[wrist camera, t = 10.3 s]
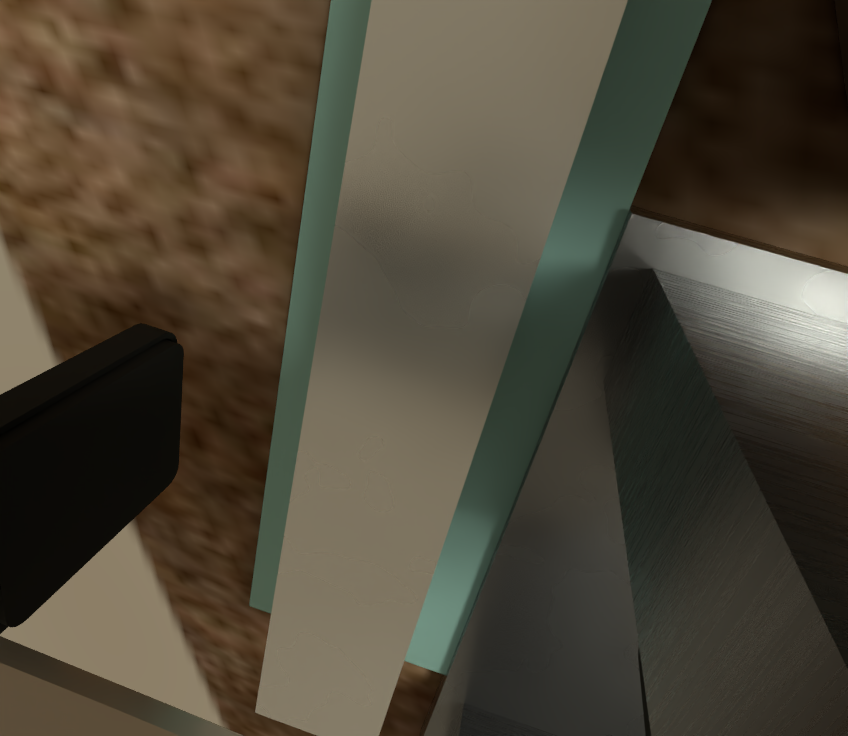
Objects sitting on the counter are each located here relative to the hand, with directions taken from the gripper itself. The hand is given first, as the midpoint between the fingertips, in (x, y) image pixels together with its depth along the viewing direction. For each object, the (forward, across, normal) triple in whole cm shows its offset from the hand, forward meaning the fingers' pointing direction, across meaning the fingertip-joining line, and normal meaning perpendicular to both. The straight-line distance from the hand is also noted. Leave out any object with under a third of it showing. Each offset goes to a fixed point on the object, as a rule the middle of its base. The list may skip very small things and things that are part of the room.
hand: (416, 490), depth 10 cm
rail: (+3, +1, 0) cm, 3 cm away
